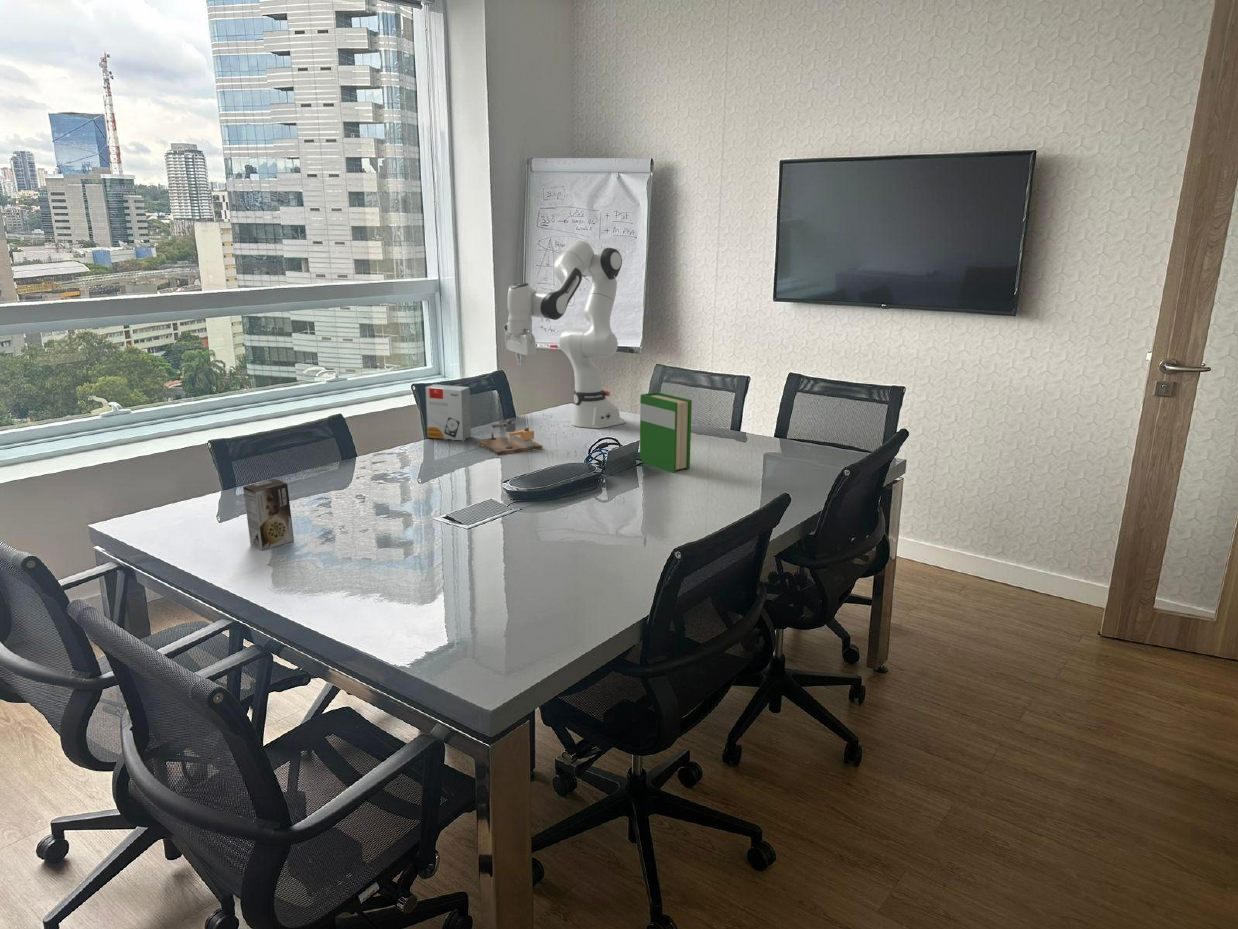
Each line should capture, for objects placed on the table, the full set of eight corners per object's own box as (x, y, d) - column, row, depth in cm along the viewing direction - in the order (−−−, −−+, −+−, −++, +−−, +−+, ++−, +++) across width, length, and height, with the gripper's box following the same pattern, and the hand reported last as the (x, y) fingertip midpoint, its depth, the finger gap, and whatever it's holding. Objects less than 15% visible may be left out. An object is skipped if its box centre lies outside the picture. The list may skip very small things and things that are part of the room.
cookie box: (281, 535, 231) (275, 477, 226) (294, 541, 227) (288, 482, 222) (249, 545, 224) (242, 485, 220) (262, 551, 220) (255, 490, 216)
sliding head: (529, 442, 321) (529, 426, 320) (534, 444, 318) (533, 428, 317) (506, 445, 317) (505, 429, 315) (510, 447, 314) (509, 431, 312)
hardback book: (689, 469, 294) (691, 400, 288) (673, 473, 290) (675, 402, 283) (655, 458, 308) (656, 391, 301) (639, 461, 303) (640, 394, 297)
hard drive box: (426, 438, 334) (423, 387, 328) (436, 433, 341) (433, 384, 336) (463, 441, 330) (460, 389, 324) (472, 436, 337) (470, 386, 331)
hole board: (520, 437, 336) (520, 434, 336) (542, 448, 320) (542, 445, 319) (476, 442, 327) (476, 439, 327) (497, 455, 311) (496, 451, 310)
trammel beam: (513, 435, 334) (512, 419, 332) (534, 446, 318) (533, 429, 316) (490, 438, 330) (489, 421, 328) (510, 449, 314) (510, 432, 312)
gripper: (539, 330, 313) (540, 368, 316) (517, 324, 330) (518, 360, 333) (523, 331, 310) (524, 369, 313) (501, 325, 327) (502, 361, 330)
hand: (521, 364), depth 324 cm, fingers closed
